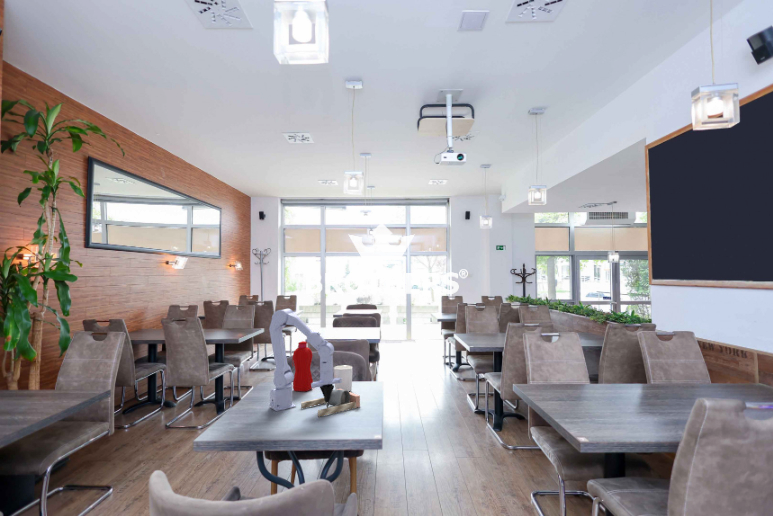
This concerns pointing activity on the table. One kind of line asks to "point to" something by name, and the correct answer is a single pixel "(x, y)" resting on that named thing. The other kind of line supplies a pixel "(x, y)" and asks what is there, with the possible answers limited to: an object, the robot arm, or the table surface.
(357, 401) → the end stop
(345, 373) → the candle holder
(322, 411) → the rails
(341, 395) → the ceramic mug
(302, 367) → the water bottle
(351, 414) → the table surface
